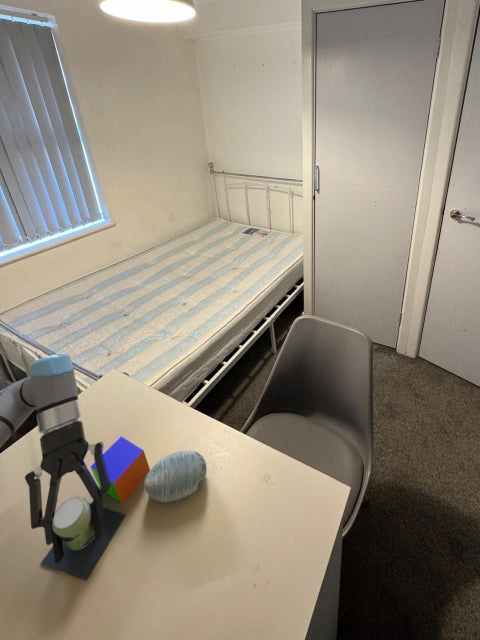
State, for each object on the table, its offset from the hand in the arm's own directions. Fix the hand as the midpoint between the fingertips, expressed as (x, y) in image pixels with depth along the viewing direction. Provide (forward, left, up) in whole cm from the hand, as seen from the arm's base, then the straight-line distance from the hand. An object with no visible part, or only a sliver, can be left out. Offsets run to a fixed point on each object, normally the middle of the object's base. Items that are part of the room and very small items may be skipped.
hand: (80, 547), depth 64 cm
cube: (-2, +15, -4) cm, 15 cm away
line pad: (-2, +3, -4) cm, 5 cm away
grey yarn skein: (+12, +16, -4) cm, 20 cm away
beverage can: (-3, +3, -4) cm, 5 cm away
